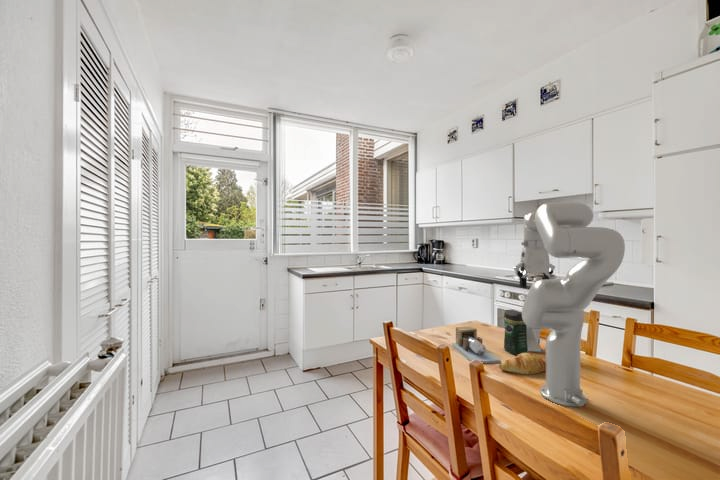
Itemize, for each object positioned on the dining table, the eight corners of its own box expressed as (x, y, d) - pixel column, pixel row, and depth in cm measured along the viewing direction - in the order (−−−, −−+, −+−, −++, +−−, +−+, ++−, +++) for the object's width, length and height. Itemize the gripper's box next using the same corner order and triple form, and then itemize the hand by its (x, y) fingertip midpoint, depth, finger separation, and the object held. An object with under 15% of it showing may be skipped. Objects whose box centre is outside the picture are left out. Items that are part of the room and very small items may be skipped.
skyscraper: (546, 353, 141) (546, 290, 140) (526, 353, 142) (526, 290, 142) (538, 347, 149) (539, 287, 149) (520, 346, 151) (520, 287, 150)
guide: (482, 350, 143) (482, 339, 143) (465, 351, 143) (465, 340, 142) (479, 347, 146) (479, 337, 146) (462, 348, 146) (462, 337, 145)
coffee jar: (531, 354, 140) (531, 312, 140) (515, 356, 138) (515, 313, 138) (515, 347, 150) (515, 307, 149) (500, 348, 148) (500, 308, 147)
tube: (485, 354, 137) (485, 343, 137) (474, 355, 137) (474, 343, 137) (471, 343, 151) (471, 333, 151) (461, 344, 151) (461, 333, 151)
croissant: (502, 383, 122) (507, 368, 118) (491, 361, 131) (495, 347, 127) (556, 379, 123) (562, 365, 119) (541, 358, 132) (547, 344, 128)
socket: (476, 345, 149) (476, 329, 149) (459, 346, 149) (459, 329, 148) (472, 342, 154) (472, 326, 153) (455, 343, 153) (455, 327, 153)
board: (500, 362, 132) (500, 360, 132) (472, 364, 131) (472, 361, 131) (476, 344, 154) (476, 342, 154) (452, 345, 153) (451, 343, 153)
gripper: (520, 245, 124) (520, 289, 124) (560, 244, 126) (561, 288, 126) (508, 244, 131) (508, 286, 131) (547, 244, 133) (547, 285, 134)
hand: (534, 287), depth 129 cm, fingers open, 9 cm apart
